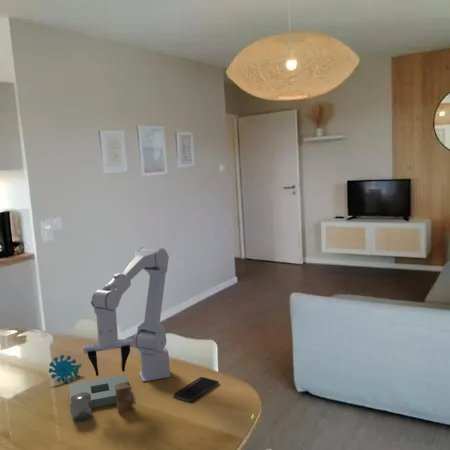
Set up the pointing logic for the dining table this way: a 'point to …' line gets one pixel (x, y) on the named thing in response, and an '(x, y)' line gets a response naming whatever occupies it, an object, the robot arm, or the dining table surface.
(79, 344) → the dining table surface
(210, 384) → the phone
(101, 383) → the socket plate
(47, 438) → the dining table surface
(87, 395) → the gunmetal plug
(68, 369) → the teal spiky virus toy
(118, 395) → the walnut peg
